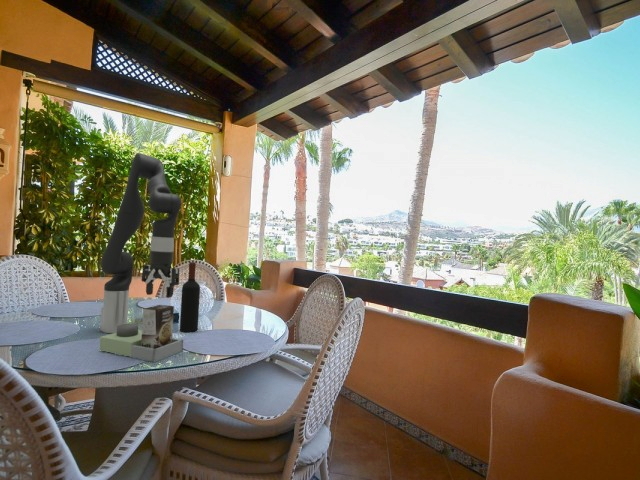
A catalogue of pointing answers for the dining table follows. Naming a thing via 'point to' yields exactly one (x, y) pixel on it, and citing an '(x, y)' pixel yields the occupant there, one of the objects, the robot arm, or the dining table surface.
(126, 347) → the green and grey tray
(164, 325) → the coffee box
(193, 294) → the wine bottle
